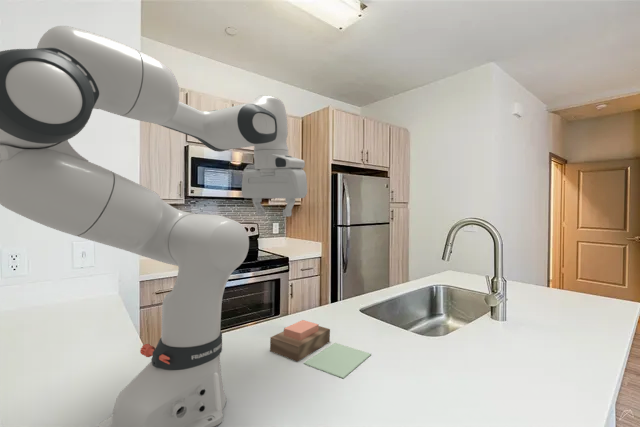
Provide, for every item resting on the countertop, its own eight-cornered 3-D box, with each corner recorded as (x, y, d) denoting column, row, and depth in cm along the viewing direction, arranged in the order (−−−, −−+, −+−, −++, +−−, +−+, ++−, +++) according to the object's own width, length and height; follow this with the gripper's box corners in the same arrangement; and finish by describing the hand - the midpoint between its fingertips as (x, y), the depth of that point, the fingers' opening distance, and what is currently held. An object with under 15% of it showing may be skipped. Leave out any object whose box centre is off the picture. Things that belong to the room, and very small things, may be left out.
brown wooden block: (297, 361, 83) (298, 346, 83) (269, 351, 89) (270, 337, 89) (329, 341, 97) (330, 329, 97) (303, 333, 102) (304, 321, 102)
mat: (343, 378, 76) (343, 377, 76) (303, 363, 82) (303, 362, 82) (371, 354, 89) (371, 353, 89) (335, 343, 96) (335, 342, 96)
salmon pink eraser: (300, 340, 87) (300, 333, 87) (283, 335, 91) (284, 328, 91) (318, 330, 95) (318, 324, 95) (302, 326, 98) (302, 319, 98)
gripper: (235, 164, 84) (237, 215, 86) (294, 159, 73) (296, 218, 74) (252, 165, 90) (254, 213, 91) (310, 160, 78) (311, 215, 79)
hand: (273, 215), depth 82 cm, fingers open, 8 cm apart
